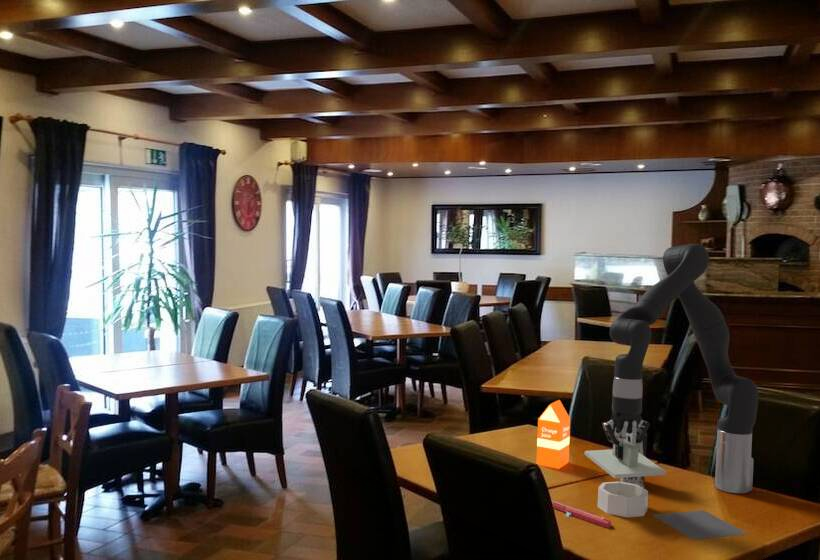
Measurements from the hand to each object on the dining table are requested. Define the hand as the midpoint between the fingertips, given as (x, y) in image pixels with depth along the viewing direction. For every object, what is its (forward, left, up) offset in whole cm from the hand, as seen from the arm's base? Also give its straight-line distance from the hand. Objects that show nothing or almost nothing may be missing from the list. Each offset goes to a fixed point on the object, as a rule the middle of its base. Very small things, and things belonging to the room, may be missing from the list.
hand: (624, 458), depth 191 cm
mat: (-13, +14, -14) cm, 24 cm away
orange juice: (-1, -41, -14) cm, 43 cm away
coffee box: (-15, -18, -14) cm, 27 cm away
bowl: (0, 0, -14) cm, 14 cm away
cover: (0, 0, -2) cm, 2 cm away
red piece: (+16, -1, -14) cm, 21 cm away
